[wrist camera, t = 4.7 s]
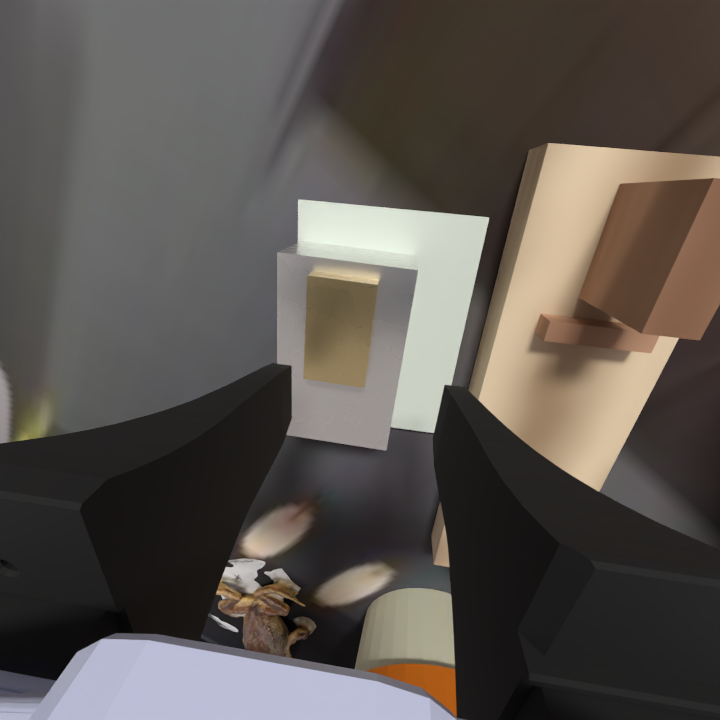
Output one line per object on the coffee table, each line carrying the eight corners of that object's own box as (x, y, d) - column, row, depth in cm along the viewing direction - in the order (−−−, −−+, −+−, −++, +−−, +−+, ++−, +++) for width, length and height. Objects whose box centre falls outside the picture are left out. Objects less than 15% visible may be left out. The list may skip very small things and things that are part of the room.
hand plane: (720, 166, 13) (945, 143, 8) (539, 552, 23) (582, 664, 17) (528, 150, 13) (613, 119, 8) (431, 535, 23) (440, 639, 18)
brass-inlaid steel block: (415, 254, 15) (419, 274, 11) (389, 407, 19) (385, 463, 15) (302, 240, 15) (269, 255, 12) (297, 394, 19) (271, 444, 15)
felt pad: (487, 217, 15) (489, 217, 14) (439, 429, 19) (440, 434, 19) (300, 199, 15) (298, 199, 15) (299, 410, 20) (297, 414, 20)
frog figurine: (360, 628, 29) (354, 686, 26) (245, 645, 33) (226, 698, 29) (295, 539, 25) (278, 592, 22) (171, 568, 29) (139, 618, 25)
